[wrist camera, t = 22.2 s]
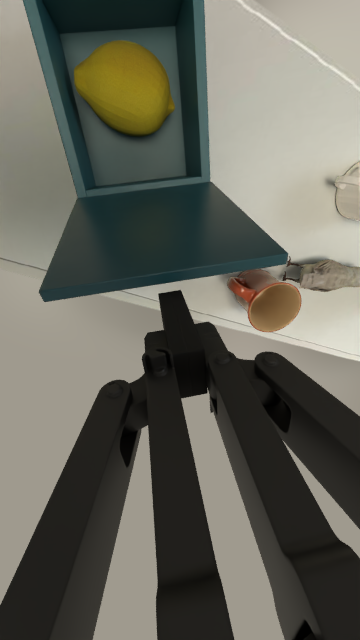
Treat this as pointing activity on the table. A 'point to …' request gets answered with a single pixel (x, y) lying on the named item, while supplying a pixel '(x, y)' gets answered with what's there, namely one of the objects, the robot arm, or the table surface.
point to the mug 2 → (349, 193)
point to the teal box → (88, 129)
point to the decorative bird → (326, 276)
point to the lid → (155, 241)
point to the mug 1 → (265, 299)
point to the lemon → (125, 87)
